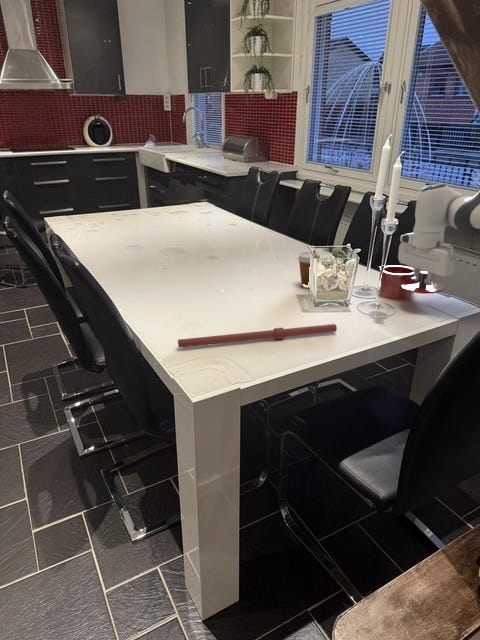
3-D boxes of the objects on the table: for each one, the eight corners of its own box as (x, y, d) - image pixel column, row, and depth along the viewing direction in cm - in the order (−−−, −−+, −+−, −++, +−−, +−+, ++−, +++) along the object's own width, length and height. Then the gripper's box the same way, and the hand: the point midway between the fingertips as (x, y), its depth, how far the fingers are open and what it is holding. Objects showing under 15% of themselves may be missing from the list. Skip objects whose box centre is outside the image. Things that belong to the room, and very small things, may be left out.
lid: (422, 282, 155) (424, 266, 153) (452, 291, 144) (455, 273, 142) (392, 288, 150) (394, 270, 149) (421, 297, 140) (423, 279, 138)
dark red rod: (333, 330, 136) (333, 320, 134) (337, 334, 133) (338, 324, 132) (178, 346, 127) (177, 336, 126) (179, 351, 124) (178, 340, 123)
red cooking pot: (392, 287, 172) (394, 262, 169) (426, 300, 158) (430, 273, 154) (366, 291, 168) (368, 266, 165) (399, 306, 154) (402, 278, 150)
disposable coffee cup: (298, 290, 172) (299, 258, 167) (296, 282, 181) (296, 252, 176) (324, 289, 172) (326, 257, 167) (320, 282, 180) (322, 251, 176)
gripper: (463, 244, 134) (456, 290, 139) (411, 233, 151) (407, 274, 156) (446, 247, 132) (440, 293, 137) (396, 235, 149) (392, 276, 154)
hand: (422, 283), depth 147 cm, fingers closed on lid, 2 cm apart
